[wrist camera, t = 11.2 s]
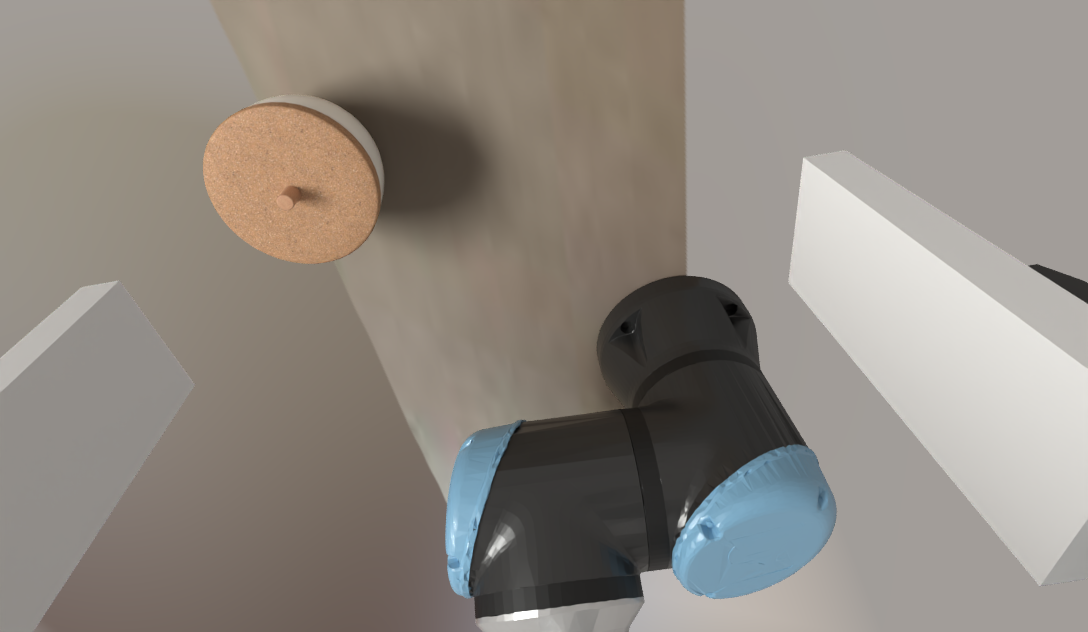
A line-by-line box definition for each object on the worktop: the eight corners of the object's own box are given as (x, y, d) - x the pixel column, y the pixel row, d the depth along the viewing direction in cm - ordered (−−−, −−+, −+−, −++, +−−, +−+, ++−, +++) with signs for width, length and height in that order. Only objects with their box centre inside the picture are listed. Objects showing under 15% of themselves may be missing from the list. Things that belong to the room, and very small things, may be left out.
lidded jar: (319, 239, 46) (283, 302, 38) (214, 127, 40) (148, 174, 32) (424, 175, 43) (409, 228, 36) (329, 45, 37) (286, 75, 30)
